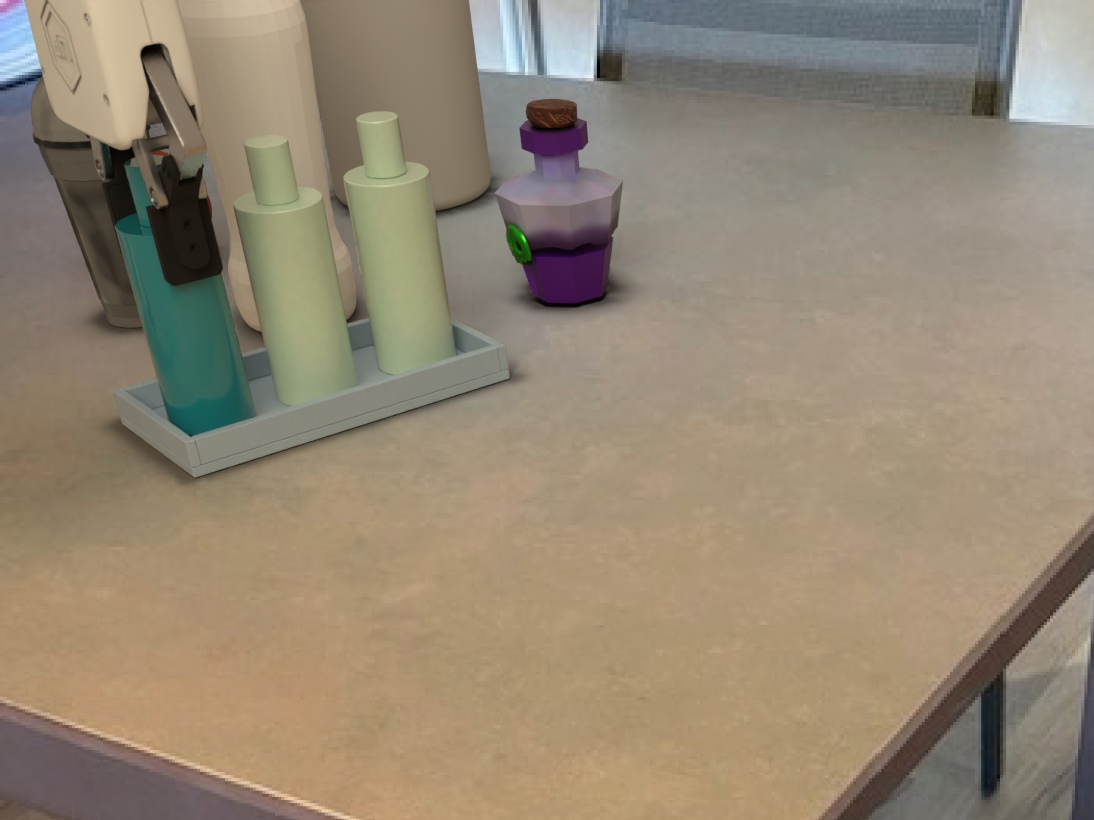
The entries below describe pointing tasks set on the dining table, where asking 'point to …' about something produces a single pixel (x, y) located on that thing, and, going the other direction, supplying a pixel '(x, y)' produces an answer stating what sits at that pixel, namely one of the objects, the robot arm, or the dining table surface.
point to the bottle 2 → (293, 277)
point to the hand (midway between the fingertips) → (171, 262)
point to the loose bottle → (184, 329)
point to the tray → (312, 402)
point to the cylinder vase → (402, 87)
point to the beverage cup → (85, 207)
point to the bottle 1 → (259, 112)
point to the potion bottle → (560, 210)
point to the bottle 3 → (398, 250)
